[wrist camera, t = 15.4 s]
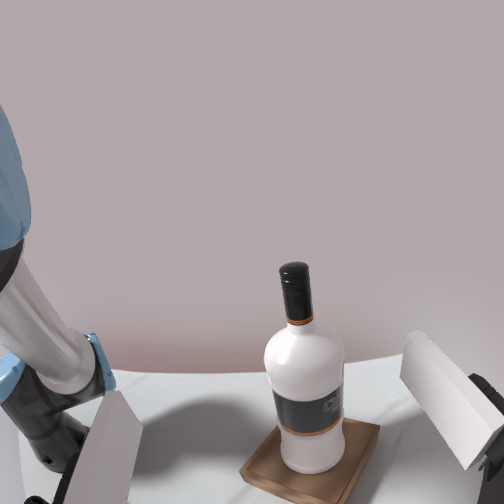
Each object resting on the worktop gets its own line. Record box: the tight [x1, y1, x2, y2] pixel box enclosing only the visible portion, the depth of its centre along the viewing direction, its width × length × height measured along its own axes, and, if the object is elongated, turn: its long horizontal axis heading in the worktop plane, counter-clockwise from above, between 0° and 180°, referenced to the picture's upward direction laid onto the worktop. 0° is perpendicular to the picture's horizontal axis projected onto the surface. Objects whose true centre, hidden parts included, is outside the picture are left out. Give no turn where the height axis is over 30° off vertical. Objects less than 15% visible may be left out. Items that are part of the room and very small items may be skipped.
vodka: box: [264, 262, 346, 474], centre depth 29 cm, size 9×9×30 cm
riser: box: [239, 418, 380, 504], centre depth 34 cm, size 16×16×4 cm
